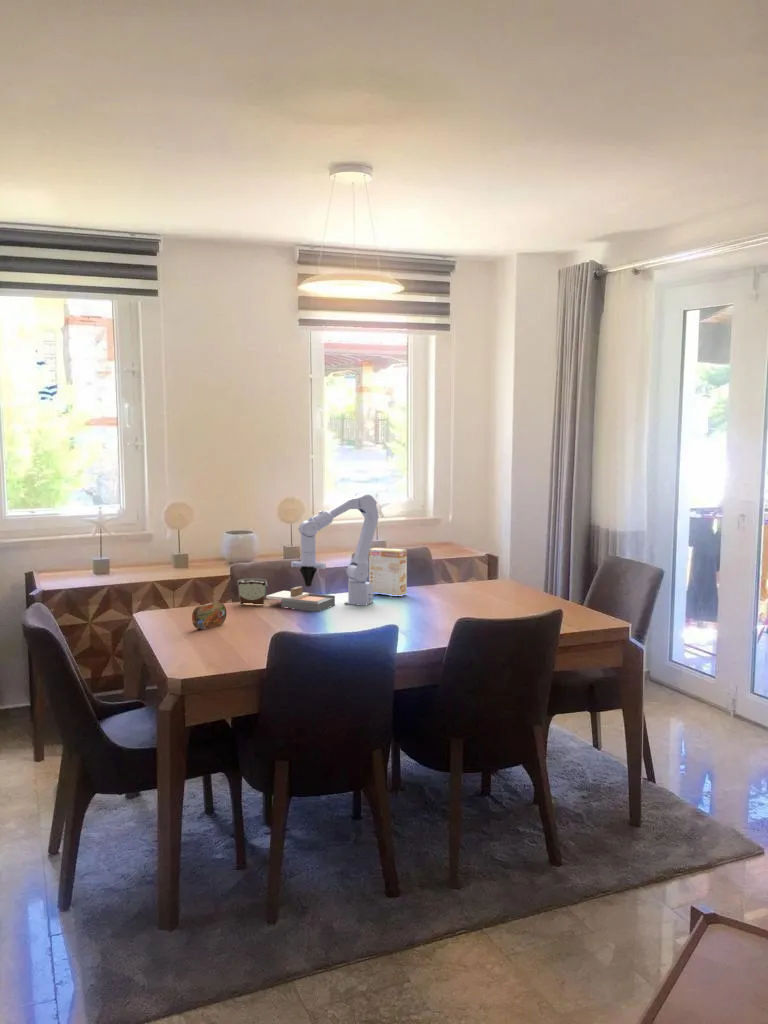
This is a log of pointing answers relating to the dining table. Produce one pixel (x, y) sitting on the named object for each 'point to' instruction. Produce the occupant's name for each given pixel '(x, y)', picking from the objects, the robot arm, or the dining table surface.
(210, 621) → the tin
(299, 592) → the cover
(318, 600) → the box
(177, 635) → the dining table surface
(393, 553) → the coffeecake box
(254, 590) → the food container
